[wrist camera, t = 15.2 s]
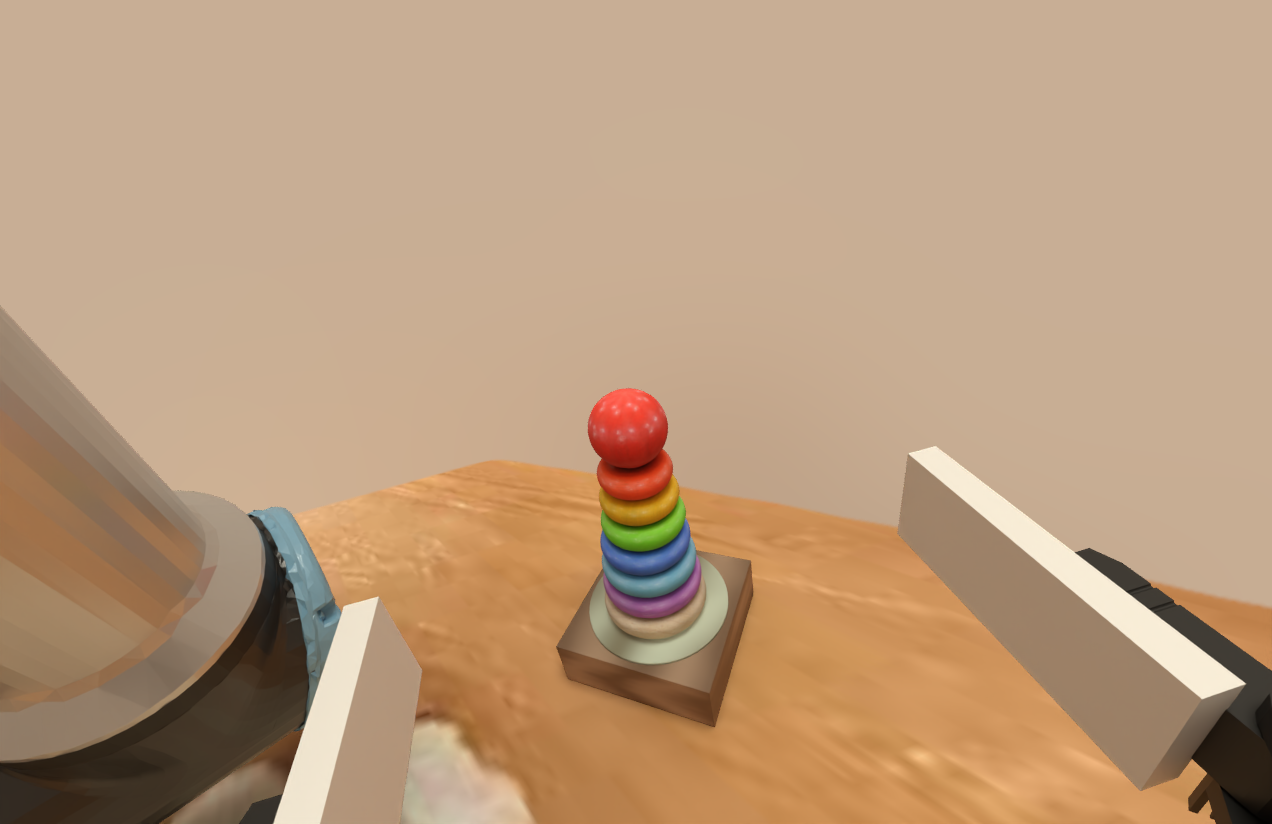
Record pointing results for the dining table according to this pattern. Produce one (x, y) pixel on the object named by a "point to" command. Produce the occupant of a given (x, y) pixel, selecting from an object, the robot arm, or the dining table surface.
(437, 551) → the dining table surface
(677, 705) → the walnut plinth
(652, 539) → the stacking toy
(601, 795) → the dining table surface
